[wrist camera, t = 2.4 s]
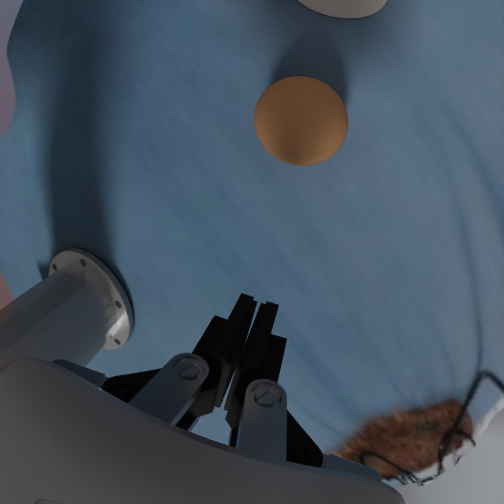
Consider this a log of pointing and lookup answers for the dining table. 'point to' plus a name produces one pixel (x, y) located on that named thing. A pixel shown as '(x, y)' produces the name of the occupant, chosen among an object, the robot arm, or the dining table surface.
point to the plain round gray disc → (345, 7)
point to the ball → (301, 120)
